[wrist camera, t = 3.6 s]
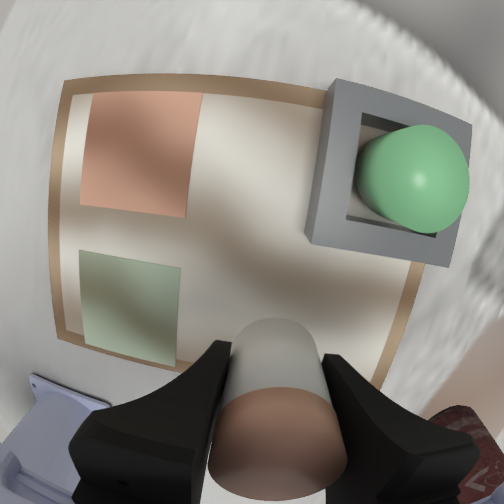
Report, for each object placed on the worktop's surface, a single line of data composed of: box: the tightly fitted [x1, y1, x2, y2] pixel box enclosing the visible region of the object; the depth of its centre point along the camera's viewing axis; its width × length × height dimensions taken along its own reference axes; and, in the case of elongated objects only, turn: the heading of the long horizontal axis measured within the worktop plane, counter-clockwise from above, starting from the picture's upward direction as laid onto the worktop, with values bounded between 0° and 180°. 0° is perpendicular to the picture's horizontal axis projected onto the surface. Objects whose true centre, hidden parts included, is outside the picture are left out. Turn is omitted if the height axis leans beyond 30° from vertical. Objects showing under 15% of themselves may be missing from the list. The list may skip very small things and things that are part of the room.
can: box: [428, 405, 504, 504], centre depth 12 cm, size 6×6×14 cm
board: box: [48, 74, 425, 391], centre depth 15 cm, size 16×21×1 cm
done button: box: [356, 125, 469, 233], centre depth 10 cm, size 4×4×3 cm
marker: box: [208, 318, 347, 501], centre depth 9 cm, size 4×4×6 cm
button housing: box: [304, 78, 472, 268], centre depth 12 cm, size 7×7×2 cm
